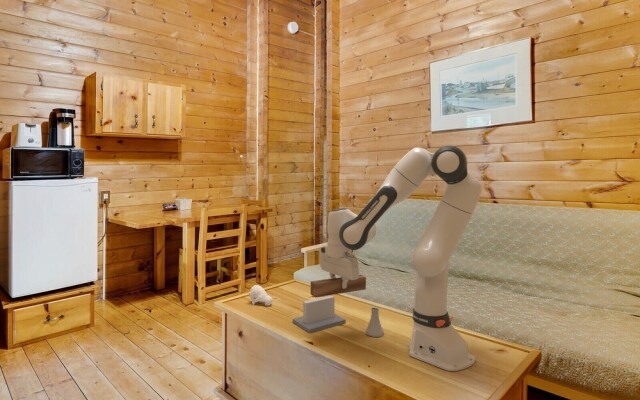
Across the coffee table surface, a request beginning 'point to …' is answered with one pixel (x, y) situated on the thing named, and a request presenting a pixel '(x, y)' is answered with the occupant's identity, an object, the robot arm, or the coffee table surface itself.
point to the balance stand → (318, 315)
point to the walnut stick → (336, 286)
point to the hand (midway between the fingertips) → (338, 286)
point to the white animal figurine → (259, 295)
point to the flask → (374, 324)
